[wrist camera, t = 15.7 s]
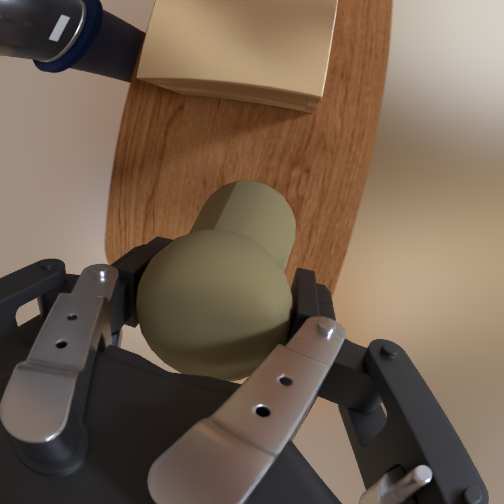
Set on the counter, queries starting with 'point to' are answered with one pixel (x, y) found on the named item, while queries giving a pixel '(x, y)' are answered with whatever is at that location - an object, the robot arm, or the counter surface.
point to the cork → (222, 285)
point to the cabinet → (241, 50)
